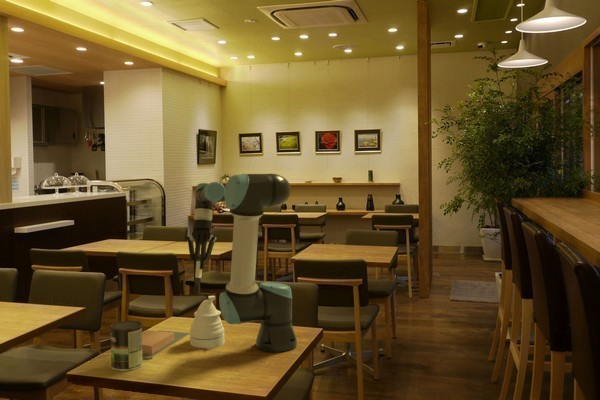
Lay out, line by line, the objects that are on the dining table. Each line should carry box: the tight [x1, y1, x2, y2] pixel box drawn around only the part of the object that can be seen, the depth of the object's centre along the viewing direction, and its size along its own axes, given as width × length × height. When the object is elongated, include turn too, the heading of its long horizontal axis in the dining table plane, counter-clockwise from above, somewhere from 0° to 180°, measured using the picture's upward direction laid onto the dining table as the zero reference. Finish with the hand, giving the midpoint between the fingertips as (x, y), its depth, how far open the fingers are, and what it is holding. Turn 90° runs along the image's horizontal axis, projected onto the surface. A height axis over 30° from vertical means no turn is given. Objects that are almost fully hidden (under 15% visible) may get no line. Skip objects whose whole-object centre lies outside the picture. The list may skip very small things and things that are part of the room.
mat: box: [142, 330, 190, 360], centre depth 209 cm, size 30×14×1 cm, turn 164°
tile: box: [142, 330, 174, 355], centre depth 206 cm, size 3×12×16 cm
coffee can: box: [109, 320, 144, 372], centre depth 187 cm, size 10×10×14 cm
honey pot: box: [189, 295, 226, 350], centre depth 210 cm, size 13×13×18 cm
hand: (198, 277), depth 226 cm, fingers closed
